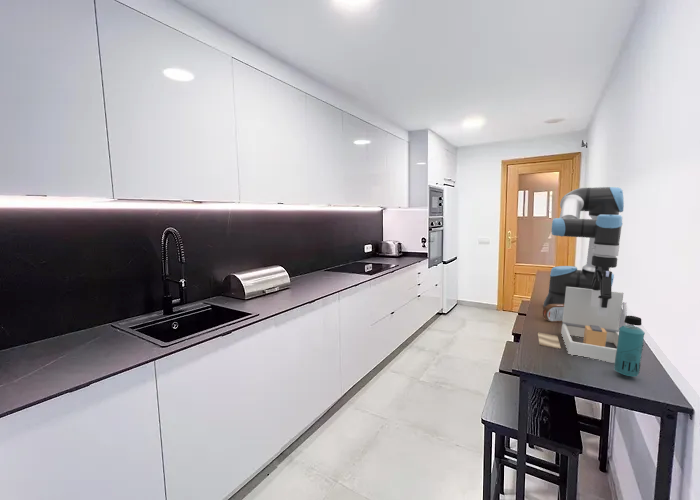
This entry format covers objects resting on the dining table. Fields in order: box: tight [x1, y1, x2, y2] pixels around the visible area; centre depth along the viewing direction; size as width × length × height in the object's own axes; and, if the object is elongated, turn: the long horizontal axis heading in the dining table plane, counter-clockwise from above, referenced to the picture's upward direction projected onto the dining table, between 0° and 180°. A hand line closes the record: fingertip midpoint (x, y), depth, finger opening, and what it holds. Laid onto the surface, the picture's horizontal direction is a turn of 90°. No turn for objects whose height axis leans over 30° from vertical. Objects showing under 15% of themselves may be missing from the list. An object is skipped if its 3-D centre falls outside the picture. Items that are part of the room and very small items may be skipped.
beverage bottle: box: [614, 315, 645, 377], centre depth 105 cm, size 6×7×20 cm
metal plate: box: [537, 332, 562, 350], centre depth 134 cm, size 14×7×1 cm, turn 153°
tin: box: [542, 304, 564, 323], centre depth 157 cm, size 15×3×8 cm, turn 97°
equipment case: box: [560, 287, 629, 364], centre depth 126 cm, size 23×21×21 cm
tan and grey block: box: [582, 325, 607, 347], centre depth 127 cm, size 5×6×8 cm
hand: (598, 310), depth 125 cm, fingers open, 13 cm apart
